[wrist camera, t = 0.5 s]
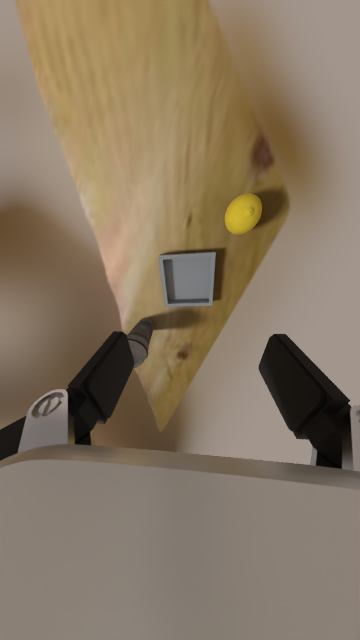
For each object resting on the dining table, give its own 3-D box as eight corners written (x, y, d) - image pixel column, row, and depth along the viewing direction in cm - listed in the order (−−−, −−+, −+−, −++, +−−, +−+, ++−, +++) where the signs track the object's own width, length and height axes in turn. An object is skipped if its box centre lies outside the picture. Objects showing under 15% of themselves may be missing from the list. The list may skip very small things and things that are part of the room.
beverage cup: (148, 309, 39) (114, 365, 22) (163, 328, 42) (143, 390, 25) (130, 320, 41) (86, 378, 24) (144, 337, 44) (115, 399, 27)
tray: (160, 254, 31) (158, 255, 29) (214, 251, 30) (215, 252, 28) (166, 302, 37) (165, 306, 35) (211, 301, 36) (212, 305, 34)
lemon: (220, 235, 29) (228, 235, 22) (222, 201, 26) (234, 188, 19) (247, 233, 28) (265, 232, 21) (253, 198, 25) (276, 184, 18)
